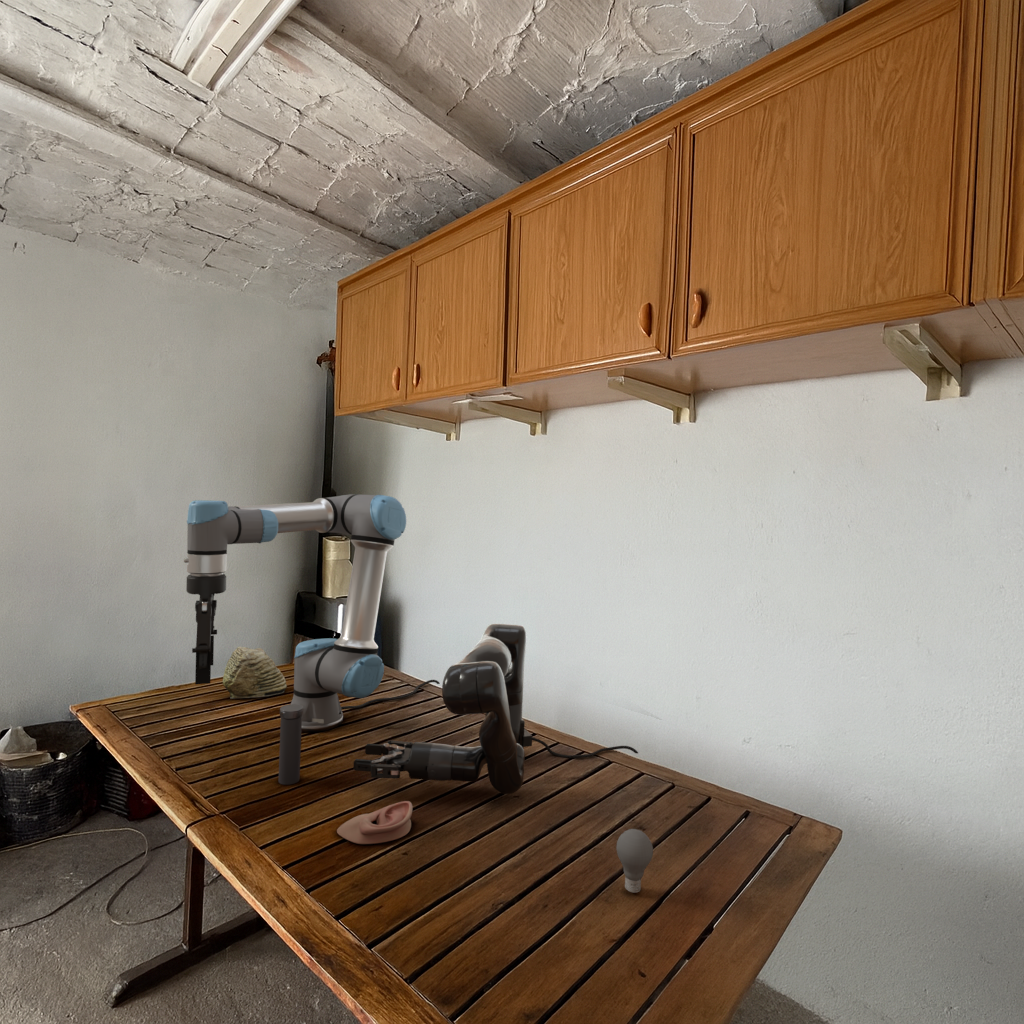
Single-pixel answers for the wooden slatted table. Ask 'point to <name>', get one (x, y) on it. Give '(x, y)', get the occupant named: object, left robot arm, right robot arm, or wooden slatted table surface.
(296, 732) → the dark grey cylinder
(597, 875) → the wooden slatted table surface
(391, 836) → the anatomical model
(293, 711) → the lid
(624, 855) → the light bulb
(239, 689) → the fossil
